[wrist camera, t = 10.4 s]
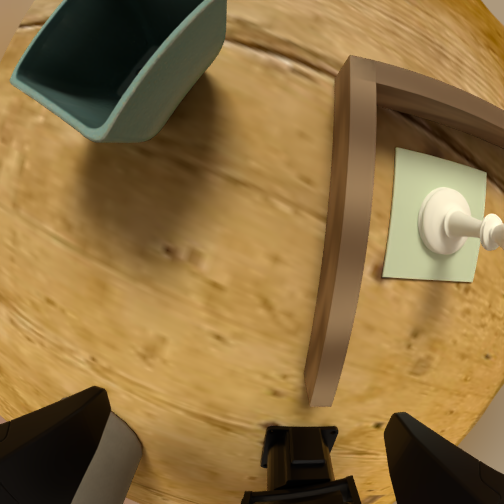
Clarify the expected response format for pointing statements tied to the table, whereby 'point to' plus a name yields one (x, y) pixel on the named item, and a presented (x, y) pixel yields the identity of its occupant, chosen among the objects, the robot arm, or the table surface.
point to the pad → (407, 210)
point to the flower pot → (120, 63)
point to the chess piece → (455, 223)
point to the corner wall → (370, 192)
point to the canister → (111, 466)
